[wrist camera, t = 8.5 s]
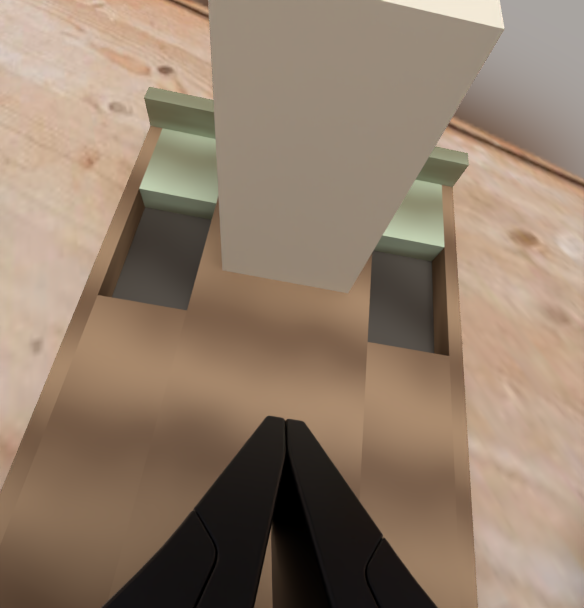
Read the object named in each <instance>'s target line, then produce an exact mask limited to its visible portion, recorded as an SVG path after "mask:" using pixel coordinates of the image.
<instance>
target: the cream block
mask: <svg viewBox="0 0 584 608" xmlns="http://www.w3.org/2000/svg"><path fill="white" fill-rule="evenodd" d="M208 3H209V24H210V43H211V62H212V81H213V100H214V119H215V139H216V158H217V177H218V196H219V215H220V234H221V253H222V270H223V271H229V272H234V273H240V274H245V275H251V276H256V277H262V278H267V279H273V280H278V281H284V282H289V283H295V284H300V285H305V286H311V287H316V288H322V289H327V290H333V291H338V292H344V293H349V291H350V289H351V288H352V286H353V284H354V283H355V281H356V279H357V277H358V276H359V274H360V272H361V271H362V269H363V267H364V266H365V264H366V262H367V261H368V259H369V257H370V255H371V254H372V252H373V250H374V249H375V247H376V245H377V244H378V242H379V240H380V239H381V237H382V235H383V234H384V232H385V230H386V228H387V227H388V225H389V223H390V222H391V220H392V218H393V217H394V215H395V213H396V212H397V210H398V208H399V206H400V205H401V203H402V201H403V200H404V198H405V196H406V195H407V193H408V191H409V190H410V188H411V186H412V185H413V183H414V181H415V179H416V178H417V176H418V174H419V173H420V171H421V169H422V168H423V166H424V164H425V163H426V161H427V159H428V157H429V156H430V154H431V152H432V151H433V149H434V147H435V146H436V144H437V142H438V141H439V139H440V137H441V136H442V134H443V132H444V130H445V129H446V127H447V125H448V124H449V122H450V120H451V119H452V117H453V115H454V113H455V112H456V110H457V108H458V107H459V105H460V103H461V102H462V100H463V98H464V96H465V95H466V93H467V92H468V90H469V88H470V87H471V85H472V83H473V81H474V80H475V78H476V76H477V75H478V73H479V71H480V70H481V68H482V66H483V64H484V63H485V61H486V59H487V58H488V56H489V54H490V53H491V51H492V49H493V48H494V46H495V44H496V43H497V41H498V39H499V38H500V36H501V34H502V32H503V31H504V24H503V18H502V13H501V6H500V0H208Z"/></svg>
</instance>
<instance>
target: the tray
mask: <svg viewBox="0 0 584 608" xmlns="http://www.w3.org/2000/svg"><path fill="white" fill-rule="evenodd" d="M144 99H145V103H146V108H147V112H148V116H149V121H150V125H151V126H150V129H149V131H148V134H147V136H146V139H145V141H144V143H143V146H142V148H141V151H140V153H139V156H138V158H137V160H136V163H135V165H134V168H133V170H132V173H131V175H130V178H129V180H128V182H127V185H126V187H125V190H124V192H123V195H122V197H121V200H120V202H119V204H118V207H117V209H116V212H115V214H114V217H113V219H112V221H111V224H110V226H109V229H108V231H107V234H106V236H105V239H104V241H103V243H102V246H101V248H100V251H99V253H98V256H97V258H96V261H95V263H94V265H93V268H92V270H91V273H90V275H89V278H88V280H87V282H86V285H85V287H84V290H83V292H82V295H81V297H80V300H79V302H78V304H77V307H76V309H75V312H74V314H73V317H72V319H71V322H70V324H69V326H68V329H67V331H66V334H65V336H64V339H63V341H62V343H61V346H60V348H59V351H58V353H57V356H56V358H55V361H54V363H53V365H52V368H51V370H50V373H49V375H48V378H47V380H46V383H45V385H44V387H43V390H42V392H41V395H40V397H39V400H38V402H37V404H36V407H35V409H34V412H33V414H32V417H31V419H30V422H29V424H28V426H27V429H26V431H25V434H24V436H23V439H22V441H21V444H20V446H19V448H18V451H17V453H16V456H15V458H14V461H13V463H12V465H11V468H10V470H9V473H8V475H7V478H6V480H5V483H4V485H3V487H2V490H1V492H0V608H101V607H102V606H103V605H104V604H105V603H106V602H107V601H108V600H109V599H110V598H111V597H112V596H113V595H114V594H115V593H116V592H117V591H118V590H119V589H120V588H121V587H122V586H123V585H124V584H125V583H126V582H127V581H128V580H130V579H131V578H132V577H133V576H134V575H135V574H136V573H137V572H138V571H139V570H140V569H141V568H142V567H143V565H144V564H145V563H146V562H147V561H148V560H149V559H150V558H151V557H152V556H153V555H154V554H155V553H156V552H157V551H158V550H159V549H160V548H161V547H162V546H163V544H164V543H165V542H166V541H167V540H168V539H169V537H170V536H171V535H172V534H173V533H174V532H175V530H176V529H177V528H178V527H179V526H180V524H181V523H182V522H183V521H184V519H185V518H186V517H187V516H188V514H189V513H190V512H191V511H193V509H194V507H195V506H196V505H197V503H198V502H199V501H200V500H201V498H202V497H203V496H204V494H205V493H206V492H207V491H208V489H209V488H210V487H211V486H212V484H213V483H214V482H215V481H216V479H217V478H218V477H219V476H220V474H221V473H222V472H223V471H224V469H225V468H226V467H227V465H228V464H229V463H230V462H231V460H232V459H233V458H234V457H235V455H236V454H237V453H238V452H239V450H240V449H241V448H242V447H243V445H244V444H245V443H246V441H247V440H248V439H249V438H250V436H251V435H252V434H253V433H254V431H255V430H256V429H257V428H258V426H259V425H260V424H261V423H262V421H263V420H264V419H265V418H266V417H267V416H275V417H282V418H284V419H285V421H286V419H294V420H301V421H304V422H305V423H306V425H307V426H308V428H309V429H310V431H311V432H312V433H313V435H314V436H315V438H316V439H317V441H318V442H319V443H320V445H321V446H322V448H323V449H324V451H325V452H326V453H327V455H328V456H329V458H330V459H331V461H332V462H333V464H334V465H335V466H336V468H337V469H338V471H339V472H340V474H341V475H342V476H343V478H344V479H345V481H346V482H347V484H348V485H349V486H350V488H351V489H352V491H353V492H354V494H355V495H356V496H357V498H358V499H359V501H360V502H361V504H362V505H363V507H364V508H365V509H366V511H367V512H368V514H369V515H370V517H371V518H372V519H373V521H374V522H375V524H376V525H377V527H378V528H379V529H380V531H381V532H382V534H383V538H386V539H387V541H388V542H389V543H390V545H391V546H392V548H393V549H394V551H395V552H396V554H397V555H398V556H399V558H400V559H401V560H402V562H403V563H404V564H405V566H406V567H407V569H408V570H409V571H410V573H411V574H412V575H413V577H414V578H415V579H416V581H417V582H418V583H419V584H420V586H421V587H422V588H423V589H424V591H425V592H426V593H427V594H428V596H429V597H430V598H431V599H432V601H433V602H434V603H435V604H436V606H437V607H438V608H478V603H477V586H476V570H475V553H474V536H473V520H472V503H471V486H470V470H469V453H468V436H467V420H466V403H465V386H464V370H463V353H462V336H461V320H460V303H459V286H458V270H457V253H456V236H455V220H454V203H453V186H454V184H455V183H456V182H457V180H458V179H459V178H460V176H461V175H462V173H463V172H464V171H465V169H466V168H467V167H468V165H469V163H468V153H464V152H459V151H454V150H449V149H445V148H440V147H434V149H433V151H432V152H431V154H430V156H429V157H428V159H427V161H426V163H425V164H424V166H423V168H422V169H421V171H420V173H419V174H418V176H417V178H416V179H415V181H414V183H413V185H412V186H411V188H410V190H409V191H408V193H407V195H406V196H405V198H404V200H403V201H402V203H401V205H400V206H399V208H398V210H397V212H396V213H395V215H394V217H393V218H392V220H391V222H390V223H389V225H388V227H387V228H386V230H385V232H384V234H383V235H382V237H381V239H380V240H379V242H378V244H377V245H376V247H375V249H374V250H373V252H372V254H371V255H370V257H369V259H368V261H367V262H366V264H365V266H364V267H363V269H362V271H361V272H360V274H359V276H358V277H357V279H356V281H355V283H354V284H353V286H352V288H351V289H350V291H349V293H344V292H338V291H333V290H327V289H322V288H316V287H311V286H305V285H300V284H295V283H289V282H284V281H278V280H273V279H267V278H262V277H256V276H251V275H245V274H240V273H234V272H229V271H223V270H222V253H221V234H220V215H219V196H218V177H217V158H216V139H215V119H214V100H210V99H206V98H201V97H196V96H191V95H186V94H182V93H177V92H172V91H167V90H163V89H158V88H153V87H149V88H148V90H147V93H146V95H145V97H144ZM254 608H273V604H272V556H271V530H270V535H269V540H268V544H267V549H266V554H265V559H264V563H263V568H262V573H261V577H260V582H259V587H258V592H257V596H256V601H255V606H254Z"/></svg>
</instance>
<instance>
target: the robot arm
mask: <svg viewBox="0 0 584 608" xmlns="http://www.w3.org/2000/svg"><path fill="white" fill-rule="evenodd" d="M270 530H271V556H272V604H273V608H438V607H437V606H436V604H435V603H434V602H433V601H432V599H431V598H430V597H429V596H428V594H427V593H426V592H425V591H424V589H423V588H422V587H421V586H420V584H419V583H418V582H417V581H416V579H415V578H414V577H413V575H412V574H411V573H410V571H409V570H408V569H407V567H406V566H405V564H404V563H403V562H402V560H401V559H400V558H399V556H398V555H397V554H396V552H395V551H394V549H393V548H392V546H391V545H390V543H389V542H388V541H387V539H386V538H383V534H382V532H381V531H380V529H379V528H378V527H377V525H376V524H375V522H374V521H373V519H372V518H371V517H370V515H369V514H368V512H367V511H366V509H365V508H364V507H363V505H362V504H361V502H360V501H359V499H358V498H357V496H356V495H355V494H354V492H353V491H352V489H351V488H350V486H349V485H348V484H347V482H346V481H345V479H344V478H343V476H342V475H341V474H340V472H339V471H338V469H337V468H336V466H335V465H334V464H333V462H332V461H331V459H330V458H329V456H328V455H327V453H326V452H325V451H324V449H323V448H322V446H321V445H320V443H319V442H318V441H317V439H316V438H315V436H314V435H313V433H312V432H311V431H310V429H309V428H308V426H307V425H306V423H305V422H304V421H301V420H294V419H286V421H285V419H284V418H282V417H275V416H267V417H266V418H265V419H264V420H263V421H262V423H261V424H260V425H259V426H258V428H257V429H256V430H255V431H254V433H253V434H252V435H251V436H250V438H249V439H248V440H247V441H246V443H245V444H244V445H243V447H242V448H241V449H240V450H239V452H238V453H237V454H236V455H235V457H234V458H233V459H232V460H231V462H230V463H229V464H228V465H227V467H226V468H225V469H224V471H223V472H222V473H221V474H220V476H219V477H218V478H217V479H216V481H215V482H214V483H213V484H212V486H211V487H210V488H209V489H208V491H207V492H206V493H205V494H204V496H203V497H202V498H201V500H200V501H199V502H198V503H197V505H196V506H195V507H194V509H193V511H191V512H190V513H189V514H188V516H187V517H186V518H185V519H184V521H183V522H182V523H181V524H180V526H179V527H178V528H177V529H176V530H175V532H174V533H173V534H172V535H171V536H170V537H169V539H168V540H167V541H166V542H165V543H164V544H163V546H162V547H161V548H160V549H159V550H158V551H157V552H156V553H155V554H154V555H153V556H152V557H151V558H150V559H149V560H148V561H147V562H146V563H145V564H144V565H143V567H142V568H141V569H140V570H139V571H138V572H137V573H136V574H135V575H134V576H133V577H132V578H131V579H130V580H128V581H127V582H126V583H125V584H124V585H123V586H122V587H121V588H120V589H119V590H118V591H117V592H116V593H115V594H114V595H113V596H112V597H111V598H110V599H109V600H108V601H107V602H106V603H105V604H104V605H103V606H102V607H101V608H254V606H255V601H256V596H257V592H258V587H259V582H260V577H261V573H262V568H263V563H264V559H265V554H266V549H267V544H268V540H269V535H270Z"/></svg>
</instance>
